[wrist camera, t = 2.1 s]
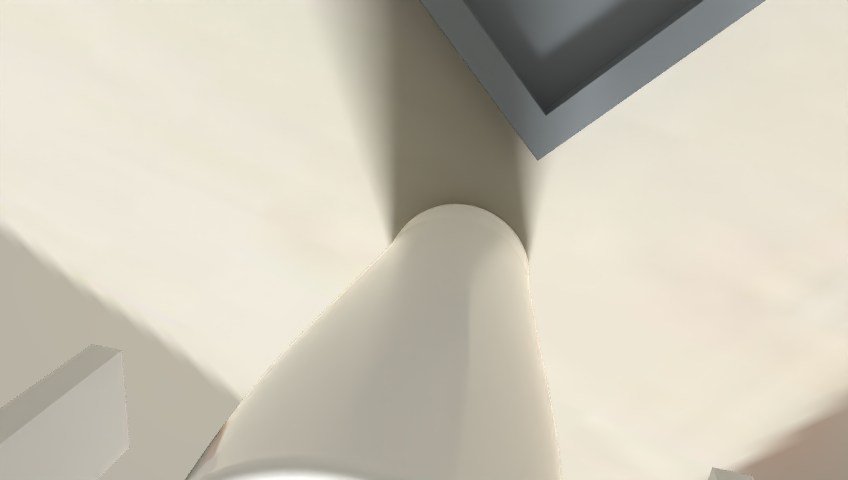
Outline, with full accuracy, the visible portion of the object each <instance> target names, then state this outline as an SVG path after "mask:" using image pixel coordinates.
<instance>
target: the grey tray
mask: <svg viewBox="0 0 848 480" xmlns="http://www.w3.org/2000/svg"><path fill="white" fill-rule="evenodd" d="M420 1H421V3H422V4H423V5H424V7H425V8H426V9H427V11H428V12H429V14H430V15H431V16H432V18H433V19H434V20H435V22H436V23H437V24H438V26H439V27H440V28H441V30H442V31H443V33H444V34H445V35H446V37H447V38H448V39H449V41H450V42H451V43H452V45H453V46H454V48H455V49H456V50H457V52H458V53H459V54H460V56H461V57H462V58H463V60H464V61H465V62H466V64H467V65H468V67H469V68H470V69H471V71H472V72H473V73H474V75H475V76H476V77H477V79H478V80H479V82H480V83H481V84H482V86H483V87H484V88H485V90H486V91H487V92H488V94H489V95H490V96H491V98H492V99H493V101H494V102H495V103H496V105H497V106H498V107H499V109H500V110H501V111H502V113H503V114H504V116H505V117H506V118H507V120H508V121H509V122H510V124H511V125H512V126H513V128H514V129H515V130H516V132H517V133H518V135H519V136H520V137H521V139H522V140H523V141H524V143H525V144H526V145H527V147H528V148H529V150H530V151H531V152H532V154H533V155H534V156H535V158H536V159H537V160H539V159H541V158H542V157H544V156H545V155H546V154H548V153H549V152H551V151H552V150H554V149H555V148H556V147H558V146H559V145H561V144H562V143H563V142H565V141H566V140H568V139H569V138H571V137H572V136H573V135H575V134H576V133H578V132H579V131H581V130H582V129H583V128H585V127H586V126H588V125H589V124H590V123H592V122H593V121H595V120H596V119H598V118H599V117H600V116H602V115H603V114H605V113H606V112H608V111H609V110H610V109H612V108H613V107H615V106H616V105H617V104H619V103H620V102H622V101H623V100H625V99H626V98H627V97H629V96H630V95H632V94H633V93H635V92H636V91H637V90H639V89H640V88H642V87H643V86H644V85H646V84H647V83H649V82H650V81H652V80H653V79H654V78H656V77H657V76H659V75H660V74H662V73H663V72H664V71H666V70H667V69H669V68H670V67H672V66H673V65H674V64H676V63H677V62H679V61H680V60H681V59H683V58H684V57H686V56H687V55H689V54H690V53H691V52H693V51H694V50H696V49H697V48H699V47H700V46H701V45H703V44H704V43H706V42H707V41H708V40H710V39H711V38H713V37H714V36H716V35H717V34H718V33H720V32H721V31H723V30H724V29H726V28H727V27H728V26H730V25H731V24H733V23H734V22H735V21H737V20H738V19H740V18H741V17H743V16H744V15H745V14H747V13H748V12H750V11H751V10H753V9H754V8H755V7H757V6H758V5H760V4H761V3H762V2H764V1H765V0H420Z"/></svg>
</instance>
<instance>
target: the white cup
mask: <svg viewBox="0 0 848 480" xmlns="http://www.w3.org/2000/svg"><path fill="white" fill-rule="evenodd" d="M529 279H530V273H529V264H528V259H527V255H526V252H525V249H524V247H523V245H522V243H521V241H520V239H519V238H518V236H517V235H516V233H515V232H514V231H513V230H512V229H511V227H510V226H509V225H507V224H506V223H505V222H504V221H503V220H502V219H500V218H499V217H497V216H496V215H494V214H493V213H491V212H489V211H487V210H484V209H482V208H479V207H475V206H471V205H465V204H447V205H441V206H437V207H433V208H430V209H428V210H425V211H424V212H422V213H420V214H418V215H417V216H415V217H414V218H412V219H411V220H410V221H409V222H408V223H407V224H406V225H405V226H404V227H403V228H402V229H401V230H400V232H399V233H398V234H397V236H396V237H395V239H394V240H393V242H392V243H391V244H390V245H389V246H388V247H387V248H386V250H385V251H384V252H383V253H382V254H381V255H380V256H379V257H378V258H377V259H376V260H375V261H374V262H373V263H372V264H371V265H370V266H369V267H368V268H367V269H366V270H365V271H364V272H363V273H362V274H361V275H360V276H359V277H358V278H357V279H356V280H355V281H354V282H353V283H352V284H351V285H350V286H349V287H347V288H346V289H345V290H344V291H343V292H342V293H341V294H340V295H339V296H338V297H337V298H336V299H335V300H334V301H333V302H332V303H331V304H330V305H329V306H328V307H327V308H326V309H325V310H324V311H323V312H322V313H321V314H320V315H319V316H318V317H317V318H316V319H315V320H314V321H313V322H312V323H311V324H310V325H309V326H308V327H307V328H306V329H305V330H304V331H303V332H302V333H301V334H300V335H299V336H298V337H297V338H296V339H295V340H294V341H293V342H292V343H291V344H290V345H289V346H288V347H287V348H286V349H285V351H284V352H283V353H282V354H281V355H280V356H279V357H278V358H277V359H276V360H275V361H274V363H273V364H272V365H271V366H270V367H269V368H268V369H267V371H266V372H265V373H264V374H263V375H262V376H261V378H260V379H259V380H258V381H257V383H256V384H255V385H254V386H253V387H252V389H251V390H250V391H249V392H248V394H247V395H246V396H245V398H244V399H243V400H242V401H241V403H240V404H239V405H238V407H237V408H236V409H235V410H234V412H233V413H232V415H231V416H230V417H229V418H228V420H227V421H226V422H225V424H224V425H223V426H222V428H221V429H220V431H219V432H218V434H217V435H216V436H215V437H214V439H213V440H212V442H211V443H210V444H209V446H208V447H207V449H206V450H205V451H204V453H203V454H202V456H201V457H200V458H199V460H198V461H197V463H196V464H195V466H194V467H193V469H192V470H191V472H190V473H189V474H188V476H187V477H186V479H185V480H563V478H562V469H561V460H560V451H559V444H558V438H557V431H556V425H555V420H554V414H553V409H552V404H551V398H550V393H549V388H548V383H547V378H546V373H545V368H544V363H543V358H542V353H541V347H540V342H539V337H538V332H537V326H536V321H535V315H534V310H533V304H532V299H531V293H530V287H529Z"/></svg>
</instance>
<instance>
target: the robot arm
mask: <svg viewBox="0 0 848 480" xmlns="http://www.w3.org/2000/svg"><path fill="white" fill-rule="evenodd" d="M129 447H130V445H129V432H128V420H127V407H126V395H125V382H124V370H123V358H122V350H118V349H113V348H108V347H103V346H98V345H93V344H91V345H90V346H88V347H87V348H86V349H84V350H83V351H81V352H80V353H78V354H77V355H76V356H74V357H73V358H72V359H70V360H69V361H67V362H66V363H64V364H63V365H62V366H60V367H59V368H57V369H56V370H54V371H53V372H51V373H50V374H49V375H47V376H46V377H45V378H43V379H42V380H40V381H39V382H37V383H36V384H35V385H33V386H32V387H30V388H29V389H27V390H26V391H24V392H23V393H22V394H20V395H19V396H17V397H16V398H15V399H13V400H12V401H10V402H9V403H7V404H6V405H5V406H3V407H2V408H0V480H98V479H99V478H100V477H101V476H102V475H103V474H104V473H105V472H106V471H107V470H108V468H109V467H110V466H111V465H112V464H113V463H114V462H115V461H116V460H117V459H118V458H119V457H120V456H121V455H122V454H123V453H124V452H125V451H126V450H127V449H128V448H129ZM708 480H754V479H753V477H752V475H747V474H742V473H737V472H732V471H727V470H722V469H717V468H712V470H711V473H710V476H709V479H708Z"/></svg>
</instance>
